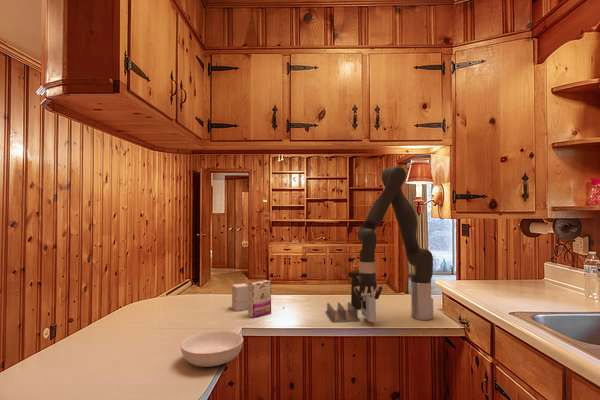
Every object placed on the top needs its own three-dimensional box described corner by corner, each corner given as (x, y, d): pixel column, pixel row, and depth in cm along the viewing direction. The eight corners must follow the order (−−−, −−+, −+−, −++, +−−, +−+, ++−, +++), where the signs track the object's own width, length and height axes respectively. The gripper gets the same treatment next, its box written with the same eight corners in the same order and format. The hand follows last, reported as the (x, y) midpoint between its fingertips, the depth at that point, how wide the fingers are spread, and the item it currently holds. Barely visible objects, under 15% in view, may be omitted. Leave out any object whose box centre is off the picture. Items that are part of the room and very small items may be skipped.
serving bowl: (189, 349, 128) (189, 330, 129) (245, 347, 130) (245, 329, 130) (172, 376, 108) (172, 353, 108) (239, 373, 109) (239, 351, 109)
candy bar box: (265, 311, 177) (265, 279, 177) (271, 313, 173) (271, 281, 173) (247, 316, 169) (247, 282, 170) (253, 318, 165) (253, 284, 166)
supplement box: (244, 306, 187) (244, 282, 187) (249, 309, 180) (249, 285, 181) (231, 308, 183) (231, 284, 183) (236, 311, 177) (236, 287, 177)
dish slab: (367, 313, 165) (367, 292, 166) (376, 321, 153) (375, 299, 154) (361, 313, 165) (361, 292, 165) (369, 321, 153) (369, 299, 153)
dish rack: (350, 311, 176) (350, 301, 176) (359, 321, 160) (359, 310, 161) (325, 312, 175) (325, 302, 175) (332, 322, 159) (332, 311, 159)
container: (363, 310, 178) (363, 271, 179) (347, 308, 183) (347, 270, 183) (369, 306, 185) (369, 269, 186) (354, 304, 190) (353, 268, 191)
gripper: (379, 269, 164) (380, 305, 164) (350, 270, 163) (351, 307, 162) (384, 272, 157) (385, 310, 156) (355, 273, 155) (355, 311, 155)
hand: (368, 308), depth 159 cm, fingers closed on dish slab, 3 cm apart
